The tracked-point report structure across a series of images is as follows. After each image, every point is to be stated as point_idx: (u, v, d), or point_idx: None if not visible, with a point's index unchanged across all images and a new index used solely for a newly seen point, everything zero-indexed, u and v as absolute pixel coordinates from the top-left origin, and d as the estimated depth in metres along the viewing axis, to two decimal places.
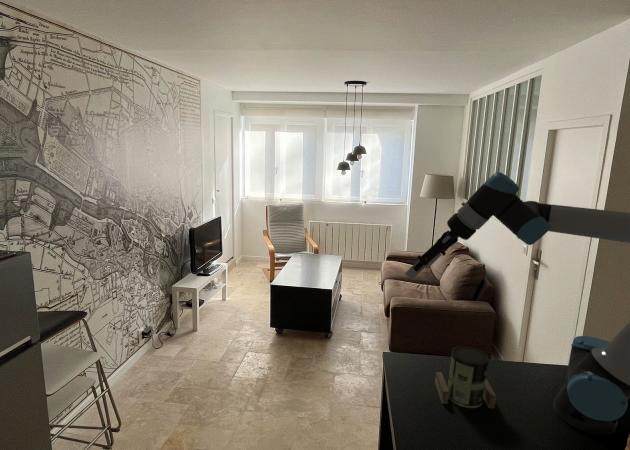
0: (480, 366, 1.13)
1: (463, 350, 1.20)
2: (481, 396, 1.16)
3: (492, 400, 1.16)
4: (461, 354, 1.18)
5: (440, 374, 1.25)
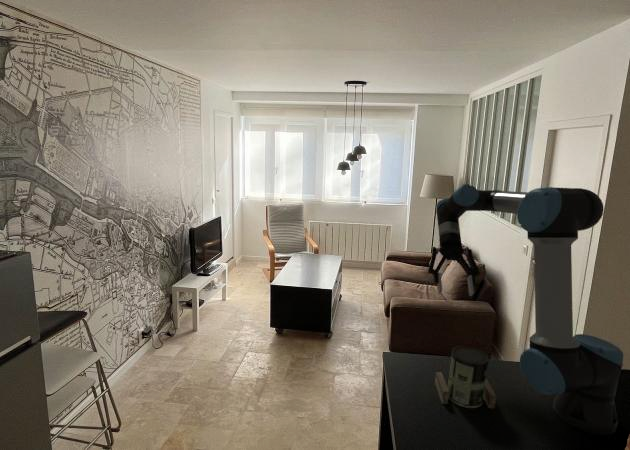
0: (480, 366, 1.13)
1: (463, 350, 1.20)
2: (481, 396, 1.16)
3: (492, 400, 1.16)
4: (461, 354, 1.18)
5: (440, 374, 1.25)
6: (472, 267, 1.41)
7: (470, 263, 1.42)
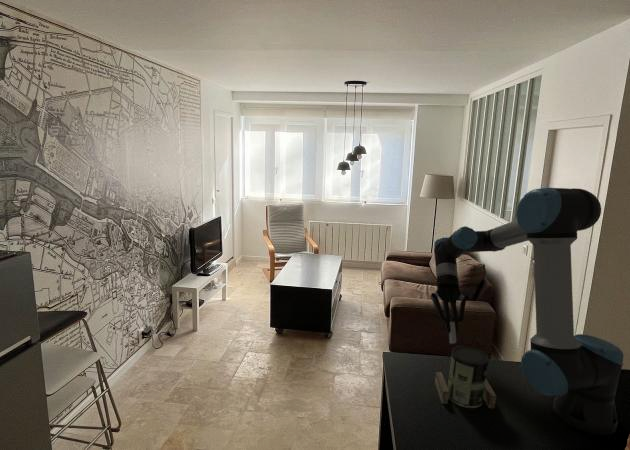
0: (480, 366, 1.13)
1: (463, 350, 1.20)
2: (481, 396, 1.16)
3: (492, 400, 1.16)
4: (461, 354, 1.18)
5: (440, 374, 1.25)
6: (459, 312, 1.39)
7: (460, 308, 1.40)
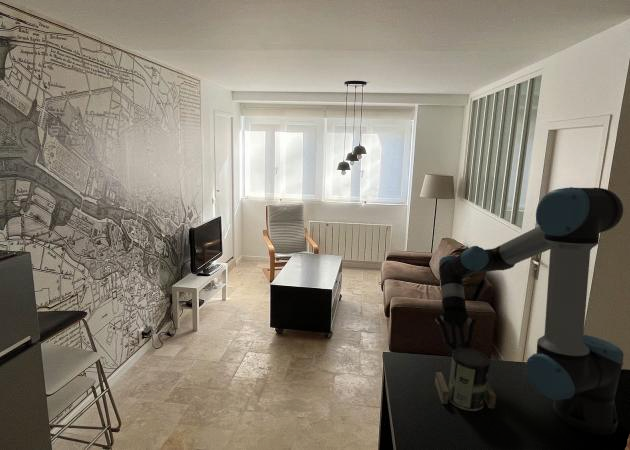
0: (481, 369, 1.12)
1: (463, 352, 1.19)
2: (482, 399, 1.15)
3: (492, 400, 1.16)
4: (462, 356, 1.16)
5: (440, 374, 1.25)
6: (467, 338, 1.30)
7: (467, 333, 1.31)
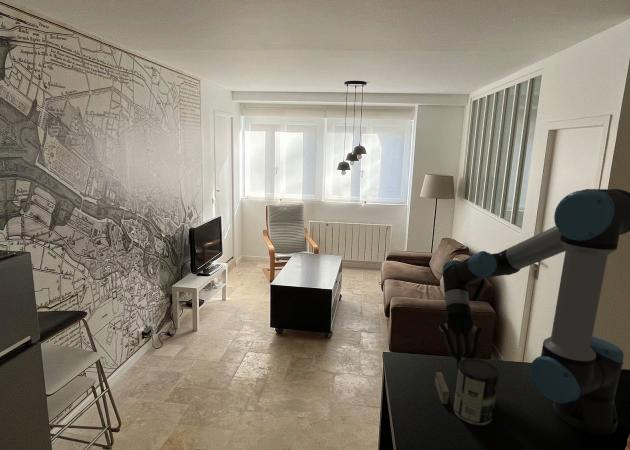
0: (491, 381, 1.06)
1: (469, 363, 1.13)
2: (491, 411, 1.10)
3: None
4: (469, 368, 1.10)
5: (440, 374, 1.25)
6: (472, 347, 1.24)
7: (472, 342, 1.25)
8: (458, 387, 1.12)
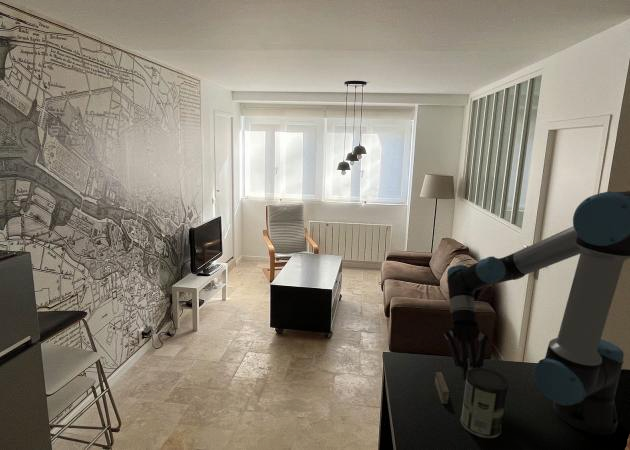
0: (502, 392, 1.02)
1: (477, 373, 1.08)
2: (501, 423, 1.05)
3: None
4: (478, 379, 1.06)
5: (440, 374, 1.25)
6: (478, 355, 1.19)
7: (479, 350, 1.20)
8: (466, 399, 1.06)
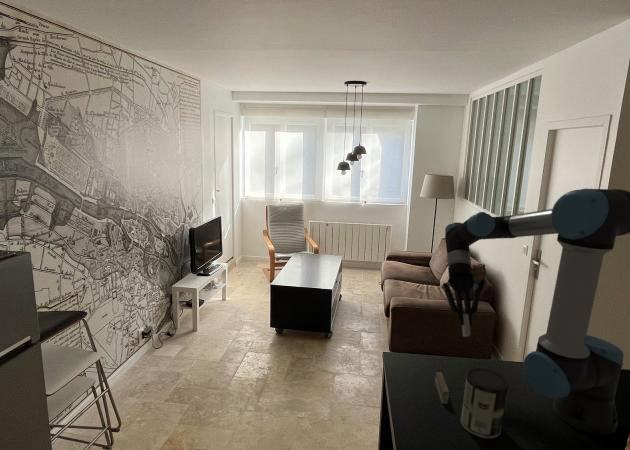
0: (502, 392, 1.02)
1: (477, 373, 1.08)
2: (501, 423, 1.05)
3: None
4: (478, 379, 1.06)
5: (440, 374, 1.25)
6: (473, 303, 1.31)
7: (473, 299, 1.32)
8: (466, 399, 1.06)
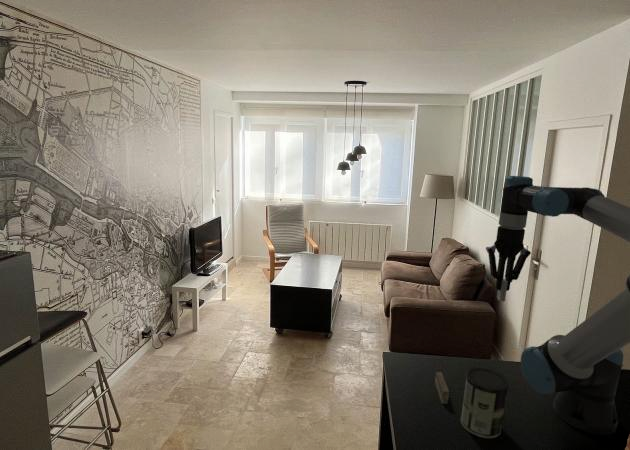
0: (502, 392, 1.02)
1: (477, 373, 1.08)
2: (501, 423, 1.05)
3: None
4: (478, 379, 1.06)
5: (440, 374, 1.25)
6: (515, 268, 1.26)
7: (517, 263, 1.25)
8: (466, 399, 1.06)
